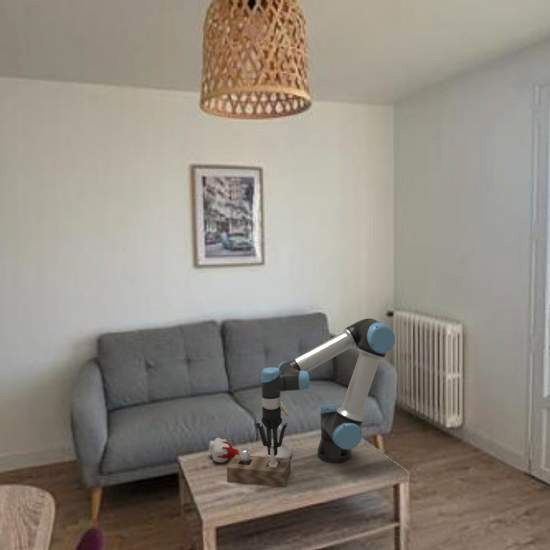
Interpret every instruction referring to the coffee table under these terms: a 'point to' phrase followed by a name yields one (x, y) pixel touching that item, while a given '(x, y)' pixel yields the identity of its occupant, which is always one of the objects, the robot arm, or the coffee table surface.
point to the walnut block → (259, 471)
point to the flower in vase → (283, 450)
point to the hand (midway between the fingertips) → (273, 462)
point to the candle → (222, 450)
